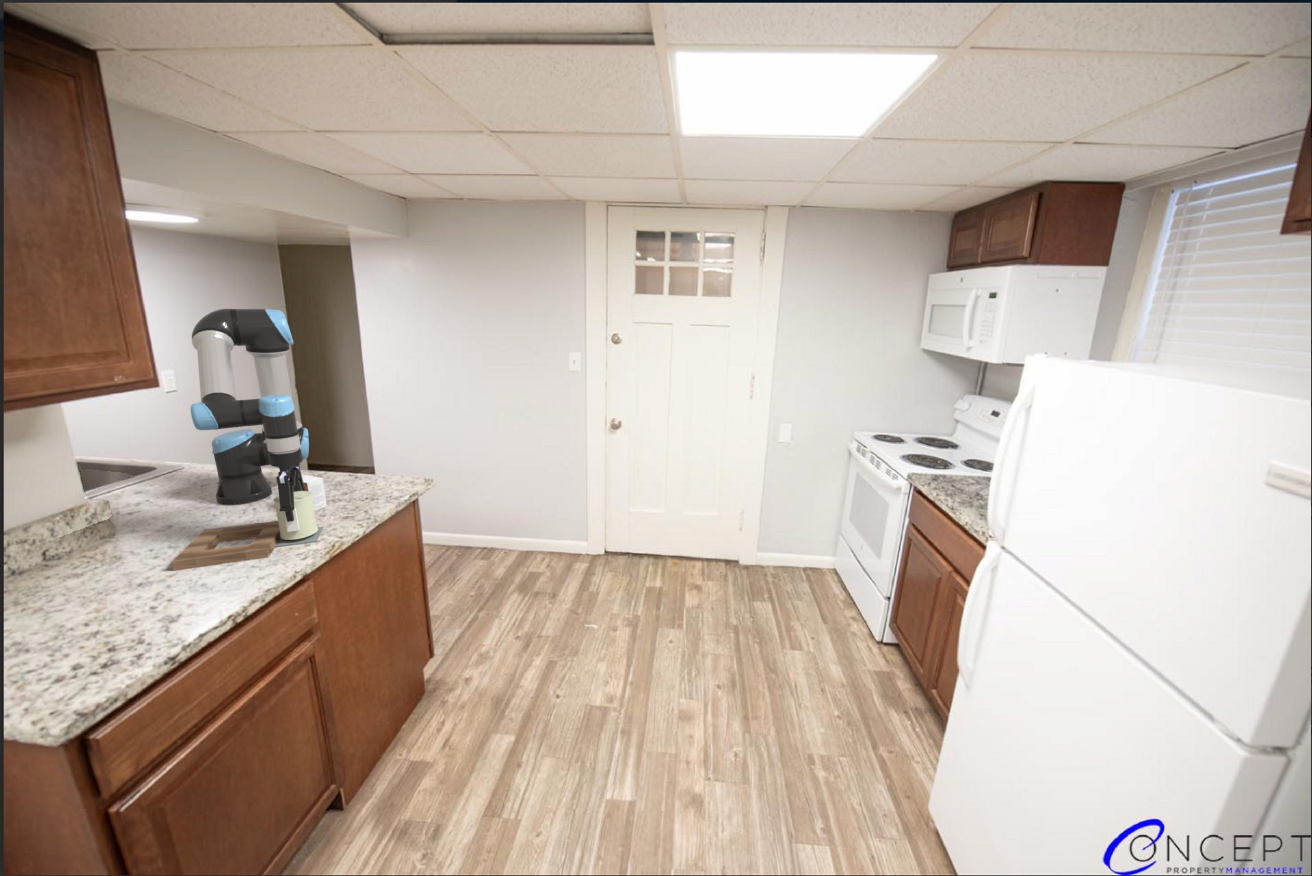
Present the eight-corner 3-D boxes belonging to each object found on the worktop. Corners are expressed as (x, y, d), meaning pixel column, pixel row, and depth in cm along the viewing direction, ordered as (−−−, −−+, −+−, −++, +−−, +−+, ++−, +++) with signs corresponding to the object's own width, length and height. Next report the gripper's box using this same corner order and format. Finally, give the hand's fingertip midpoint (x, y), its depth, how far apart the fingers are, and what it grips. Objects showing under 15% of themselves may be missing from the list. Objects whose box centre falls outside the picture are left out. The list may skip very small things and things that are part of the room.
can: (298, 541, 141) (291, 502, 138) (271, 537, 142) (264, 499, 139) (325, 527, 149) (319, 490, 146) (300, 524, 151) (293, 487, 148)
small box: (294, 508, 165) (288, 479, 163) (310, 502, 171) (305, 474, 168) (311, 512, 163) (306, 482, 160) (327, 506, 168) (322, 477, 165)
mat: (284, 532, 149) (284, 531, 149) (323, 527, 153) (323, 526, 152) (274, 547, 140) (274, 546, 140) (316, 541, 144) (316, 540, 144)
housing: (206, 537, 145) (204, 529, 144) (288, 527, 152) (286, 519, 152) (173, 570, 127) (171, 562, 126) (268, 557, 135) (266, 549, 134)
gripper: (279, 441, 147) (292, 511, 153) (255, 463, 128) (271, 541, 134) (309, 439, 150) (320, 507, 156) (290, 460, 131) (304, 537, 137)
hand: (297, 523), depth 145 cm, fingers closed on can, 9 cm apart
